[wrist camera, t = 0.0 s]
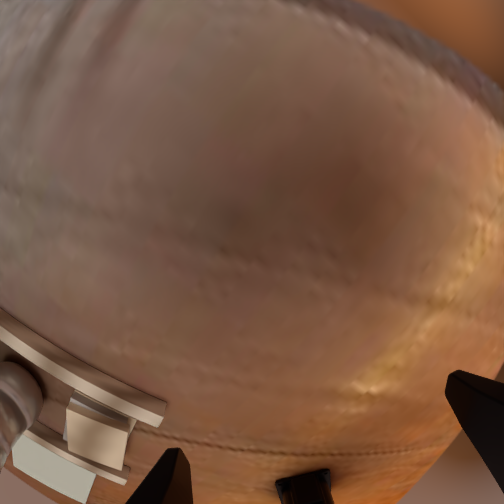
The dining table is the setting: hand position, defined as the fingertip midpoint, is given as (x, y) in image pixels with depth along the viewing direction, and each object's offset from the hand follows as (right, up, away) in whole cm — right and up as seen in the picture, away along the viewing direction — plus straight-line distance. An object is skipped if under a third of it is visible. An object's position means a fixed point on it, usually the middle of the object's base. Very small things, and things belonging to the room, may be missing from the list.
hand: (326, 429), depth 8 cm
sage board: (-29, -23, +18) cm, 41 cm away
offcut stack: (-18, -12, +17) cm, 27 cm away
